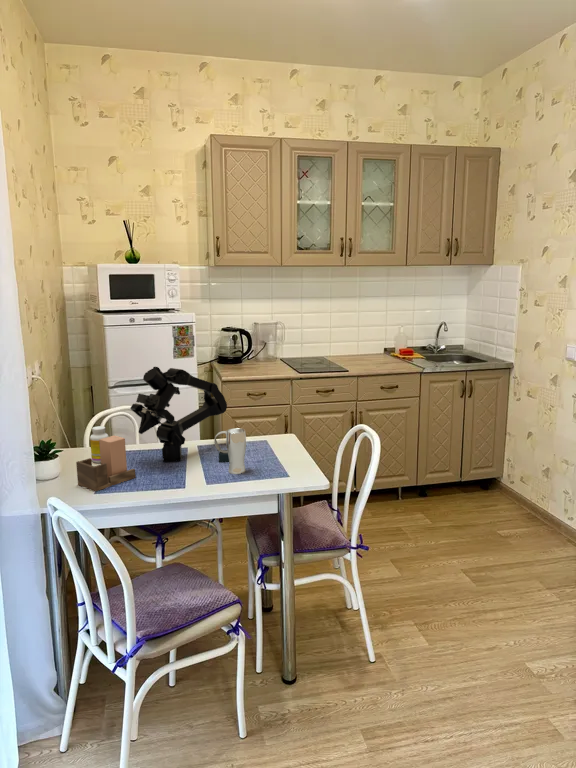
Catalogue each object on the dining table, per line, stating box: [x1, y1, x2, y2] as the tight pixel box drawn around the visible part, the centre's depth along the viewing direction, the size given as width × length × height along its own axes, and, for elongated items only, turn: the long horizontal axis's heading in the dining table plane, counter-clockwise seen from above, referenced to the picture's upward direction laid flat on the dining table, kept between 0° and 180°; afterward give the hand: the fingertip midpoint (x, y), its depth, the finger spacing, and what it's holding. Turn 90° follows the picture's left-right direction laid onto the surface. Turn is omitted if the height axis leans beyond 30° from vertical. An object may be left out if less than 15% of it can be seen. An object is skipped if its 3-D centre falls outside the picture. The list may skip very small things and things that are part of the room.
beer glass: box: [225, 427, 247, 475], centre depth 206 cm, size 7×7×15 cm
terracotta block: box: [99, 435, 128, 478], centre depth 200 cm, size 6×6×13 cm
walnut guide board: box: [75, 457, 137, 492], centre depth 199 cm, size 16×10×8 cm, turn 142°
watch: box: [213, 430, 229, 463], centre depth 219 cm, size 6×8×11 cm
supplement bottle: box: [89, 425, 110, 464], centre depth 220 cm, size 7×7×13 cm
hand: (139, 433), depth 208 cm, fingers closed
